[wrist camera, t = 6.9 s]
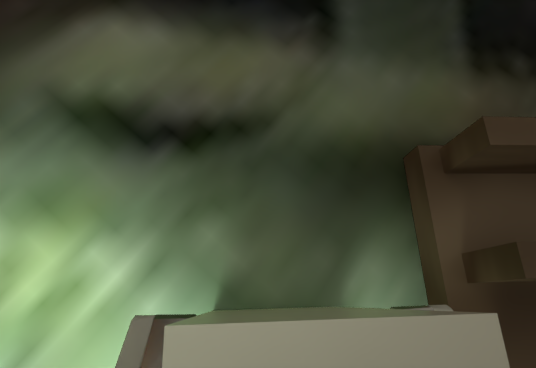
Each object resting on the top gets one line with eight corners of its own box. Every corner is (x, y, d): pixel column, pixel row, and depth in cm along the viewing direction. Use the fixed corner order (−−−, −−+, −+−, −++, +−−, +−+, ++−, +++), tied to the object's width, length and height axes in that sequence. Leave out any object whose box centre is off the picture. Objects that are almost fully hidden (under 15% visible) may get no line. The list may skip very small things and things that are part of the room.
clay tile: (334, 358, 14) (534, 471, 5) (211, 364, 14) (153, 503, 4) (330, 306, 15) (497, 313, 5) (212, 310, 14) (164, 326, 5)
